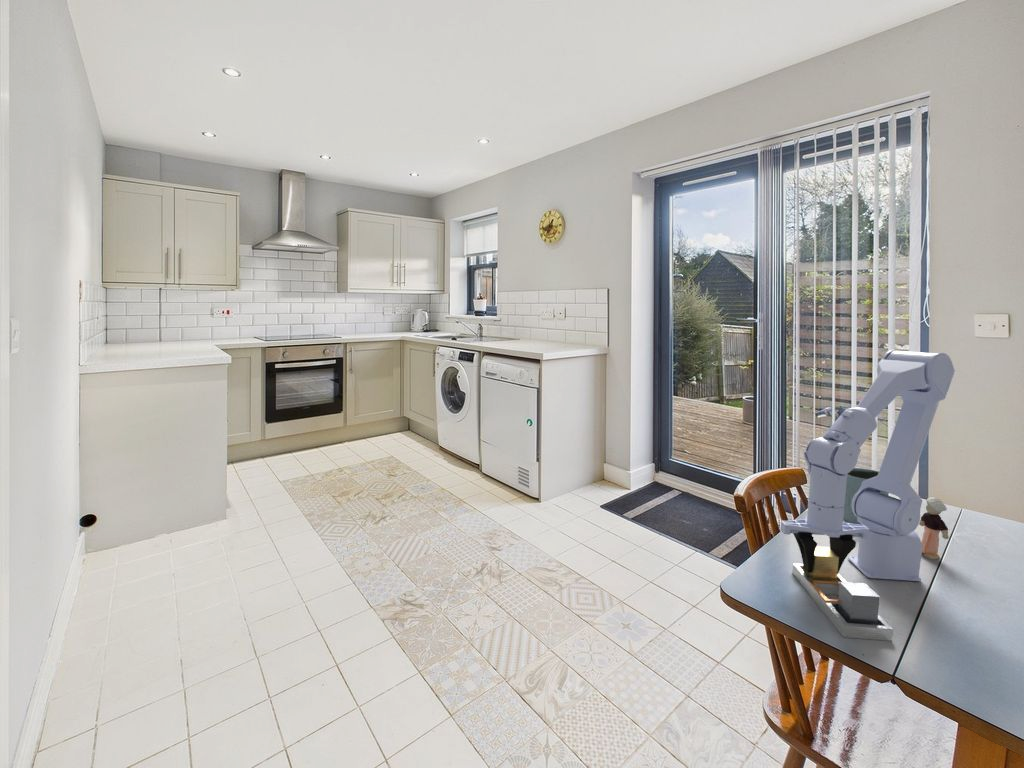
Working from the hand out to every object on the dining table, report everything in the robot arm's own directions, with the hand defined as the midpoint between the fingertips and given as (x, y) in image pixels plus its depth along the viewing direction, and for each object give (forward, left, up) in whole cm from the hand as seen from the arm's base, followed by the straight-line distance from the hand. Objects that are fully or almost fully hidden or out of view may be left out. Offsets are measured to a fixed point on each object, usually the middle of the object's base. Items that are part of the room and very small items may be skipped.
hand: (820, 570), depth 94 cm
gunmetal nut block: (0, +13, -3) cm, 13 cm away
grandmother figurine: (-28, -15, -3) cm, 32 cm away
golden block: (0, 0, -3) cm, 3 cm away
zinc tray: (0, +6, -3) cm, 7 cm away
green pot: (-24, -33, -3) cm, 41 cm away
